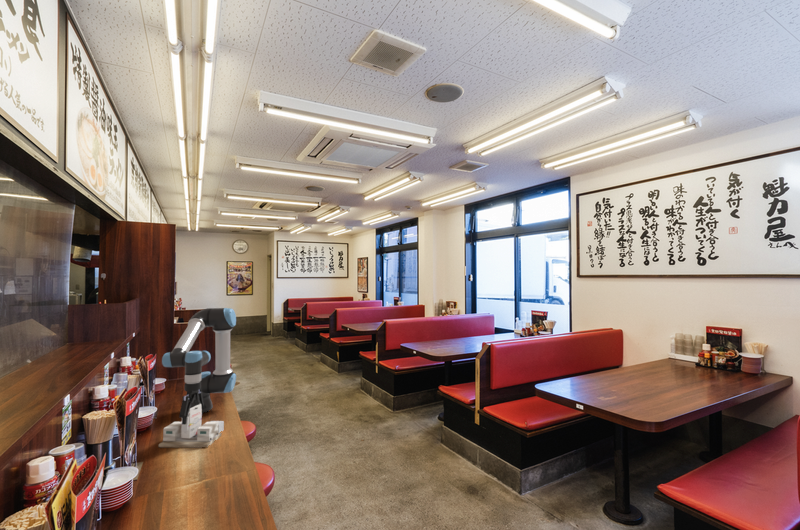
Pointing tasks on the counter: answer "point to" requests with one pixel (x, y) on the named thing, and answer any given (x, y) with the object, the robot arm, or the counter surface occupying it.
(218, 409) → the counter surface
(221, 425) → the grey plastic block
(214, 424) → the mounting board
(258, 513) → the counter surface
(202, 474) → the counter surface
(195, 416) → the ink cartridge box
